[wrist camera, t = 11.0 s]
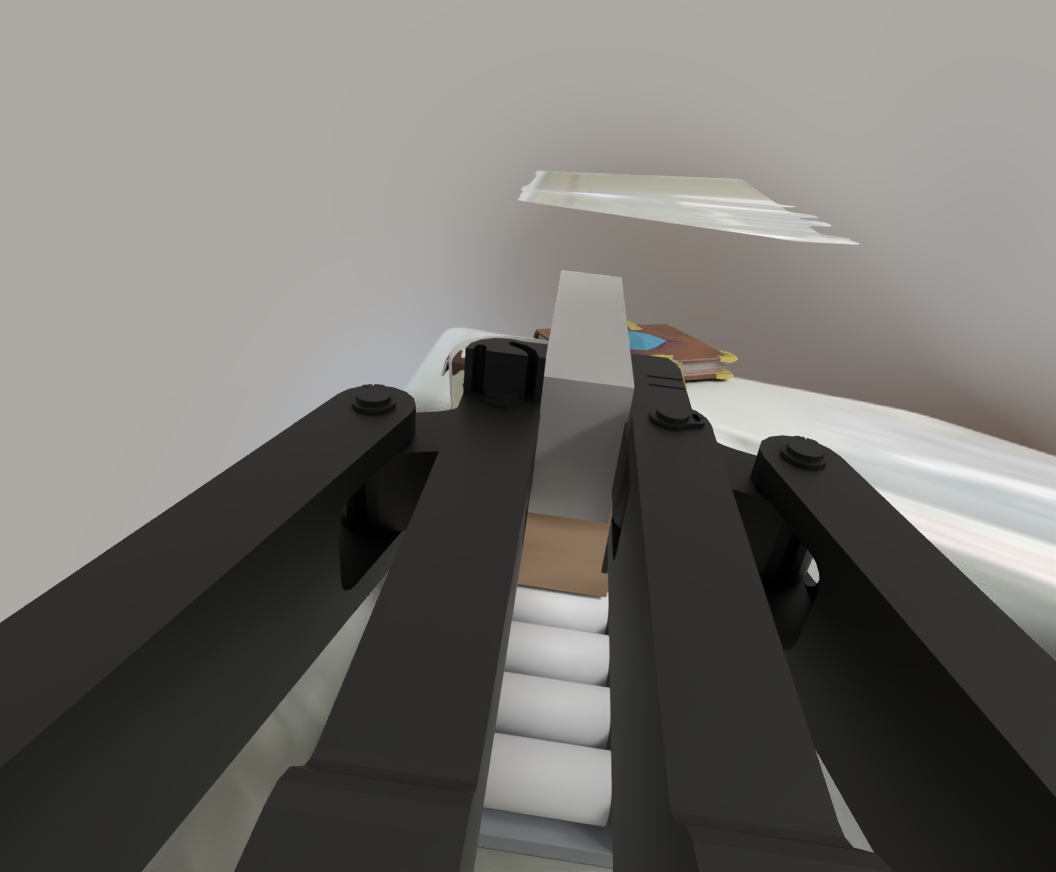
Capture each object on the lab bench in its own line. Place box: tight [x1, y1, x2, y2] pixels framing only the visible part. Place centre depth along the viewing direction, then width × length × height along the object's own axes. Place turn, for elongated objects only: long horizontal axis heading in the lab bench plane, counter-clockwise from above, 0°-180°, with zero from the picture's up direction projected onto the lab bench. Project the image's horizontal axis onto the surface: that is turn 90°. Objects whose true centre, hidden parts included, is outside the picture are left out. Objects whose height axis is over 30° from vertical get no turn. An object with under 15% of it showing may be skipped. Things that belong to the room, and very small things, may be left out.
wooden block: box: [518, 505, 612, 597], centre depth 39 cm, size 10×8×9 cm
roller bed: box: [477, 584, 613, 868], centre depth 37 cm, size 25×12×8 cm, turn 175°
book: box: [534, 321, 738, 389], centre depth 78 cm, size 16×25×5 cm, turn 114°
